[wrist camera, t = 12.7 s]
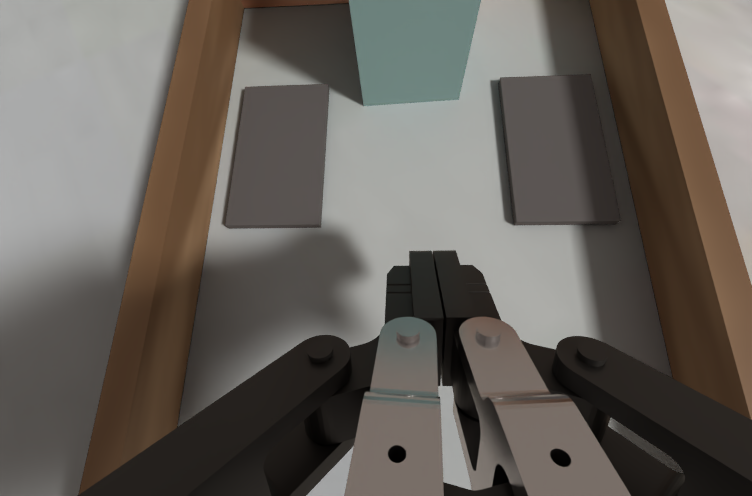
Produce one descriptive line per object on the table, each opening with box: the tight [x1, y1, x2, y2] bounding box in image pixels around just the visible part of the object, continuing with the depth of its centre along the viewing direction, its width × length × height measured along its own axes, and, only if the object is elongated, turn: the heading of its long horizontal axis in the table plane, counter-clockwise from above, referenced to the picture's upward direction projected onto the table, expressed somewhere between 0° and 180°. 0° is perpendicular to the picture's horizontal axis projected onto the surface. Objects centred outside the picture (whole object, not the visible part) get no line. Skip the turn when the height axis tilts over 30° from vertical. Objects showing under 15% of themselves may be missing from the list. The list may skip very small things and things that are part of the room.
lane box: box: [78, 0, 752, 495], centre depth 14 cm, size 22×29×6 cm
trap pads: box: [225, 74, 621, 228], centre depth 18 cm, size 18×8×1 cm, turn 90°
